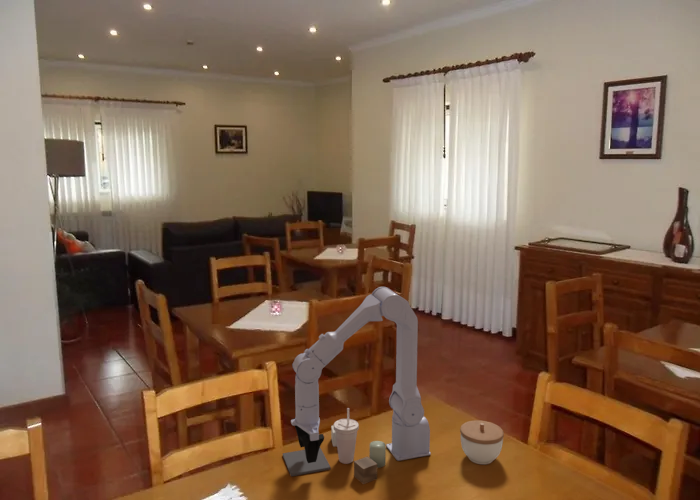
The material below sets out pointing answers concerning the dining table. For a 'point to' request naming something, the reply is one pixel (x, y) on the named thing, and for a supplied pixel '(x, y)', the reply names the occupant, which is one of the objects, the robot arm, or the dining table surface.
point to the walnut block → (365, 470)
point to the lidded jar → (481, 441)
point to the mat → (304, 463)
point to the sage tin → (378, 453)
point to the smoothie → (346, 438)
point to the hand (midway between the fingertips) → (307, 453)
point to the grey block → (333, 436)
